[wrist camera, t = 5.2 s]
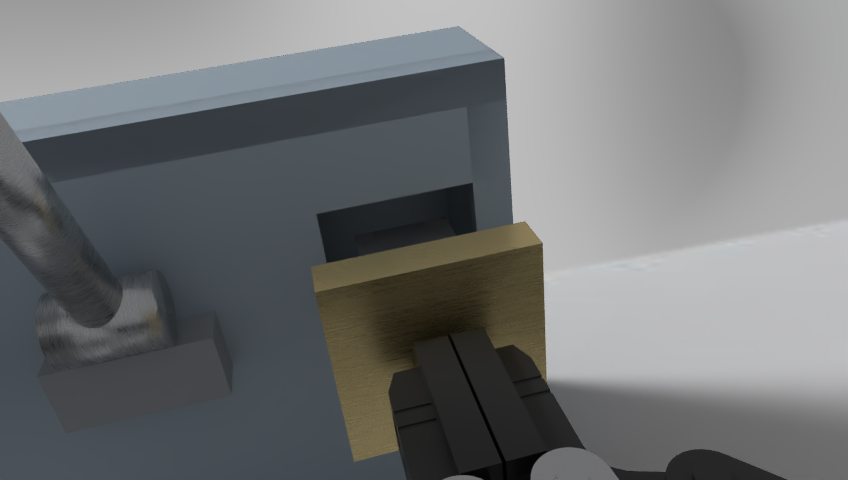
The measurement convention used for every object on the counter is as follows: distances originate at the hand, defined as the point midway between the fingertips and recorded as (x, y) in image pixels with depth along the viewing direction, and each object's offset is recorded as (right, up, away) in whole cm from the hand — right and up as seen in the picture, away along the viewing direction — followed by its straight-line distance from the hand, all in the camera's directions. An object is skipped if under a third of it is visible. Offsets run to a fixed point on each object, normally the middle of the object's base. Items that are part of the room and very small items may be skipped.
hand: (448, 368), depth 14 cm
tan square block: (0, -1, +3) cm, 3 cm away
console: (-7, -5, +8) cm, 12 cm away
